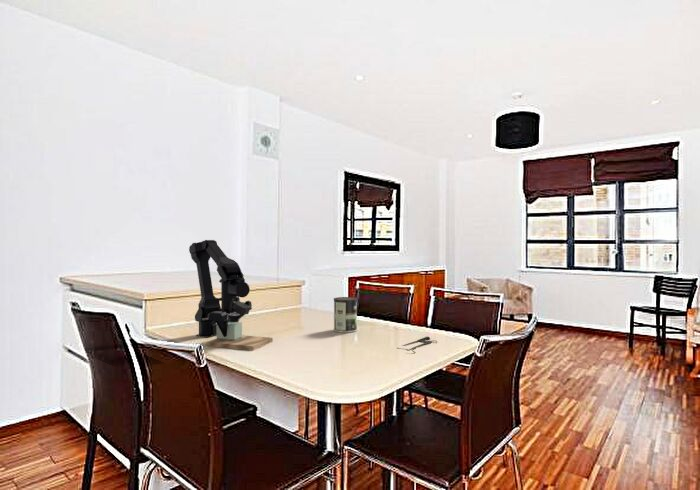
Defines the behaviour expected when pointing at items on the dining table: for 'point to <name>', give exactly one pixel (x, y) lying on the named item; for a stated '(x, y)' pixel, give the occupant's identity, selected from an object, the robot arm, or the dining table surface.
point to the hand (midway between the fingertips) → (229, 335)
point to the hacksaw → (418, 345)
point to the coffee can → (345, 314)
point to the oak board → (241, 342)
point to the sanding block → (231, 331)
